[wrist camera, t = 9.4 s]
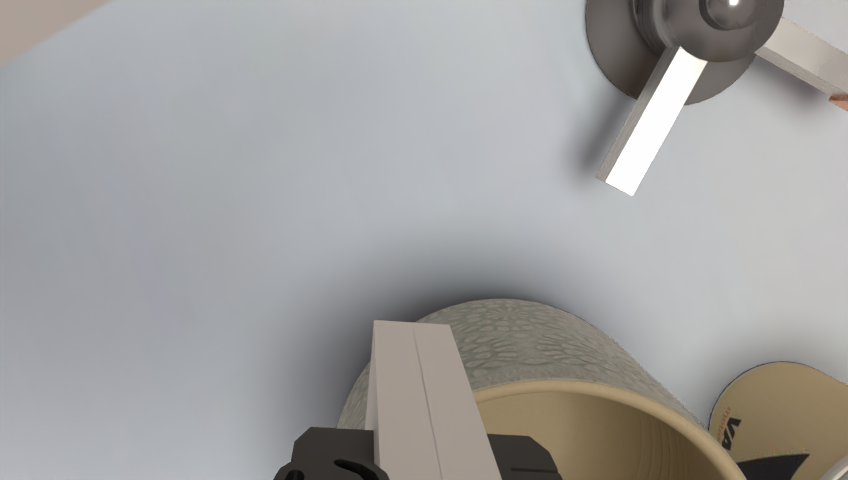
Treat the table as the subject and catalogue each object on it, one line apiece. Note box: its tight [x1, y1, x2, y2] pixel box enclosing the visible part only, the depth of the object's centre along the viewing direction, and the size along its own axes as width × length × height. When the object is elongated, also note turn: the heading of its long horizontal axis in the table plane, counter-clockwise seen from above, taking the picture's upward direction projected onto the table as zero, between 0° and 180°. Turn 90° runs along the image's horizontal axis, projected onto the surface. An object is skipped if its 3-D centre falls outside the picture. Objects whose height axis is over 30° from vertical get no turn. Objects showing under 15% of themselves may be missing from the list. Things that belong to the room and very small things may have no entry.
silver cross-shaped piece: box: [595, 0, 848, 196], centre depth 34 cm, size 18×18×6 cm
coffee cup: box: [709, 362, 848, 480], centre depth 37 cm, size 9×9×12 cm
